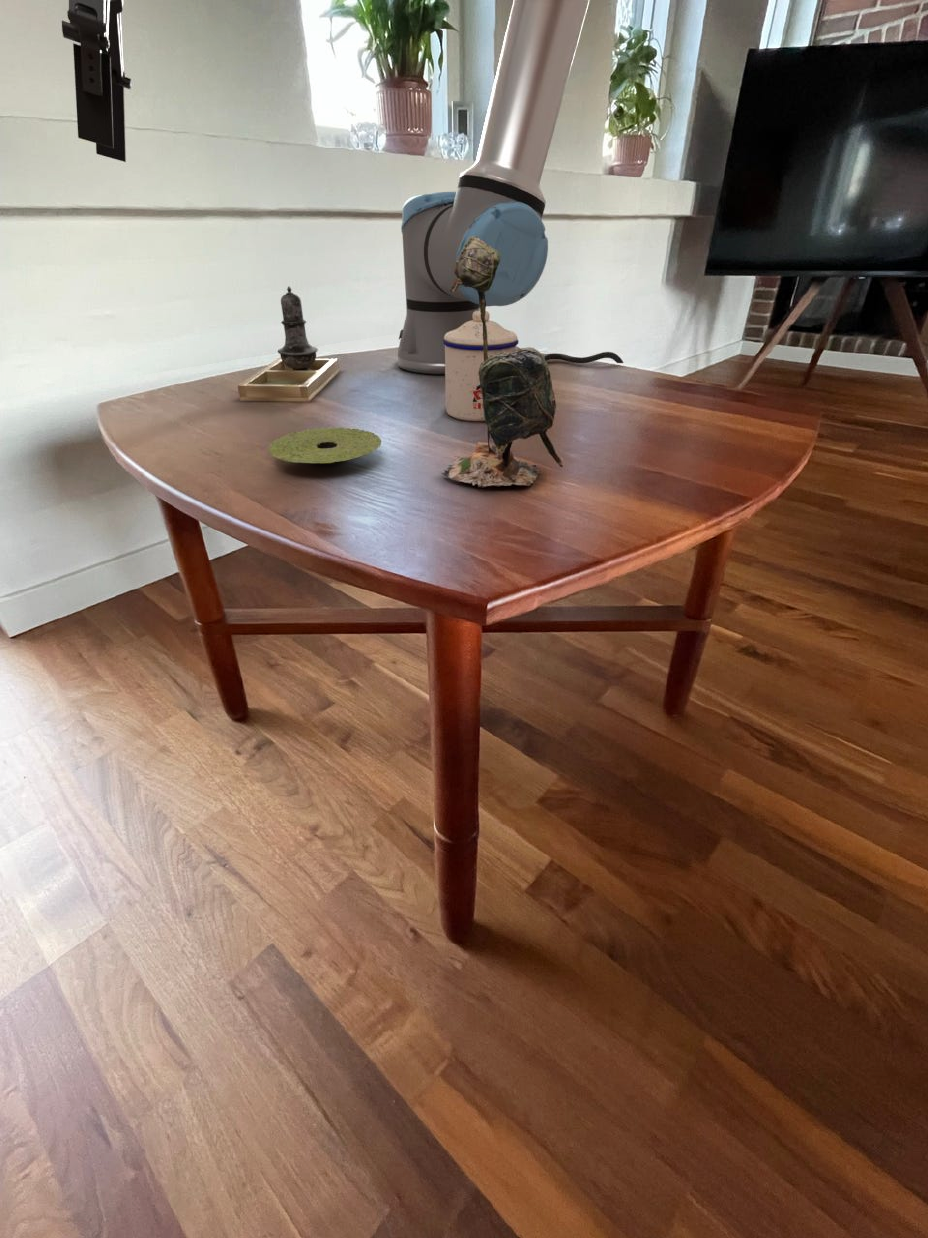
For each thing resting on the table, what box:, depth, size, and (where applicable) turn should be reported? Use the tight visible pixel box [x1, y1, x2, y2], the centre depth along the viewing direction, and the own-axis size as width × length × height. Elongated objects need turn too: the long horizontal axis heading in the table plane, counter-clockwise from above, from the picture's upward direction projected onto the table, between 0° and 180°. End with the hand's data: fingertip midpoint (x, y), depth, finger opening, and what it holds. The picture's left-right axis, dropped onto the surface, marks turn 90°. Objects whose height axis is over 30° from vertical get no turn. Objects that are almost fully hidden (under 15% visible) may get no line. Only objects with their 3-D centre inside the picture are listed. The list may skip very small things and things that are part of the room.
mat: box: [268, 426, 382, 465], centre depth 63 cm, size 11×11×2 cm
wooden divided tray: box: [237, 357, 340, 403], centre depth 90 cm, size 10×18×2 cm, turn 177°
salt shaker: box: [277, 285, 319, 371], centre depth 91 cm, size 6×6×12 cm
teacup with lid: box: [443, 310, 521, 422], centre depth 76 cm, size 12×9×12 cm
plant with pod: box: [441, 236, 565, 488], centre depth 54 cm, size 8×11×20 cm
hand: (104, 151), depth 61 cm, fingers open, 13 cm apart
